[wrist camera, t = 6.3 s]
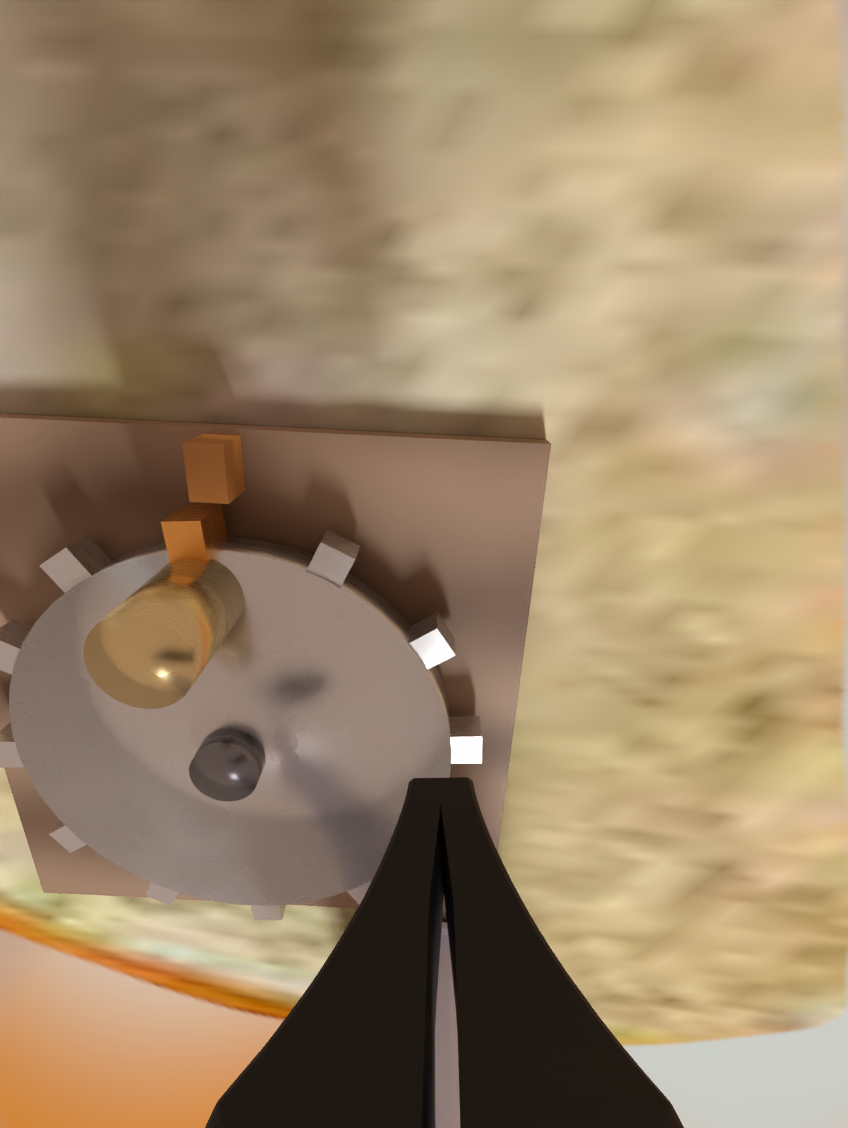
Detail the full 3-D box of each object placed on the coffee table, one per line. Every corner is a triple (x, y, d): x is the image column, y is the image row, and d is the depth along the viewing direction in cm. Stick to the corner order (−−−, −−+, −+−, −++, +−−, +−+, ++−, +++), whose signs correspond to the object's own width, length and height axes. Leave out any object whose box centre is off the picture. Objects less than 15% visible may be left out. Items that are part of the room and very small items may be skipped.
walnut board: (487, 898, 27) (492, 949, 25) (54, 877, 27) (20, 925, 25) (546, 439, 18) (561, 454, 16) (-86, 409, 18) (-158, 419, 16)
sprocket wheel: (477, 890, 25) (488, 1033, 20) (79, 891, 26) (-9, 1029, 20) (481, 497, 18) (499, 562, 13) (-66, 510, 19) (-256, 577, 13)
